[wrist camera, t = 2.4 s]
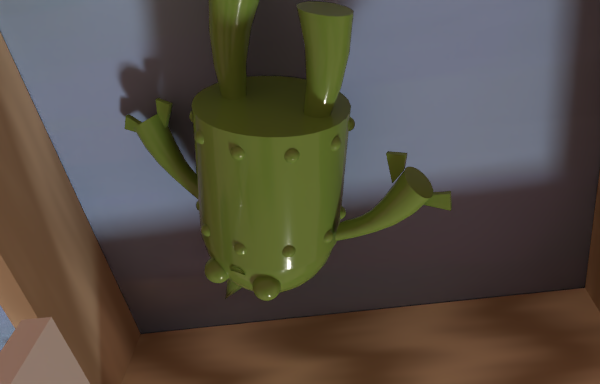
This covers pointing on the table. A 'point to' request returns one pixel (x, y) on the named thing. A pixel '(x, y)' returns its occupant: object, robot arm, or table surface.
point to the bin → (267, 334)
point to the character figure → (276, 156)
